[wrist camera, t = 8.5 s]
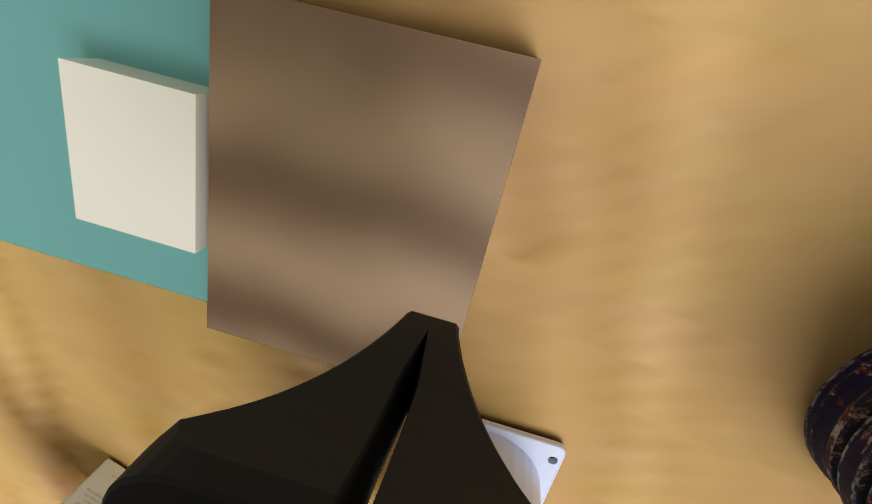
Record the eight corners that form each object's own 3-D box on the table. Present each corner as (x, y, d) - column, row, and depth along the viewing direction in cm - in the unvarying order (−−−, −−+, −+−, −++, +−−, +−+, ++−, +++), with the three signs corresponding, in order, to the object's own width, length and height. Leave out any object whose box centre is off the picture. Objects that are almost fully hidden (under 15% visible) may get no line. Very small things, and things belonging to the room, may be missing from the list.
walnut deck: (450, 366, 23) (443, 398, 21) (236, 303, 24) (207, 327, 22) (538, 60, 17) (541, 59, 15) (249, -9, 18) (209, -20, 16)
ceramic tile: (222, 238, 22) (195, 253, 20) (111, 206, 23) (76, 218, 21) (226, 91, 19) (195, 94, 18) (100, 58, 20) (57, 57, 18)
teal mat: (229, 301, 24) (223, 306, 24) (6, 234, 25) (-5, 238, 25) (239, -12, 18) (231, -14, 18) (-54, -82, 19) (-71, -86, 19)
